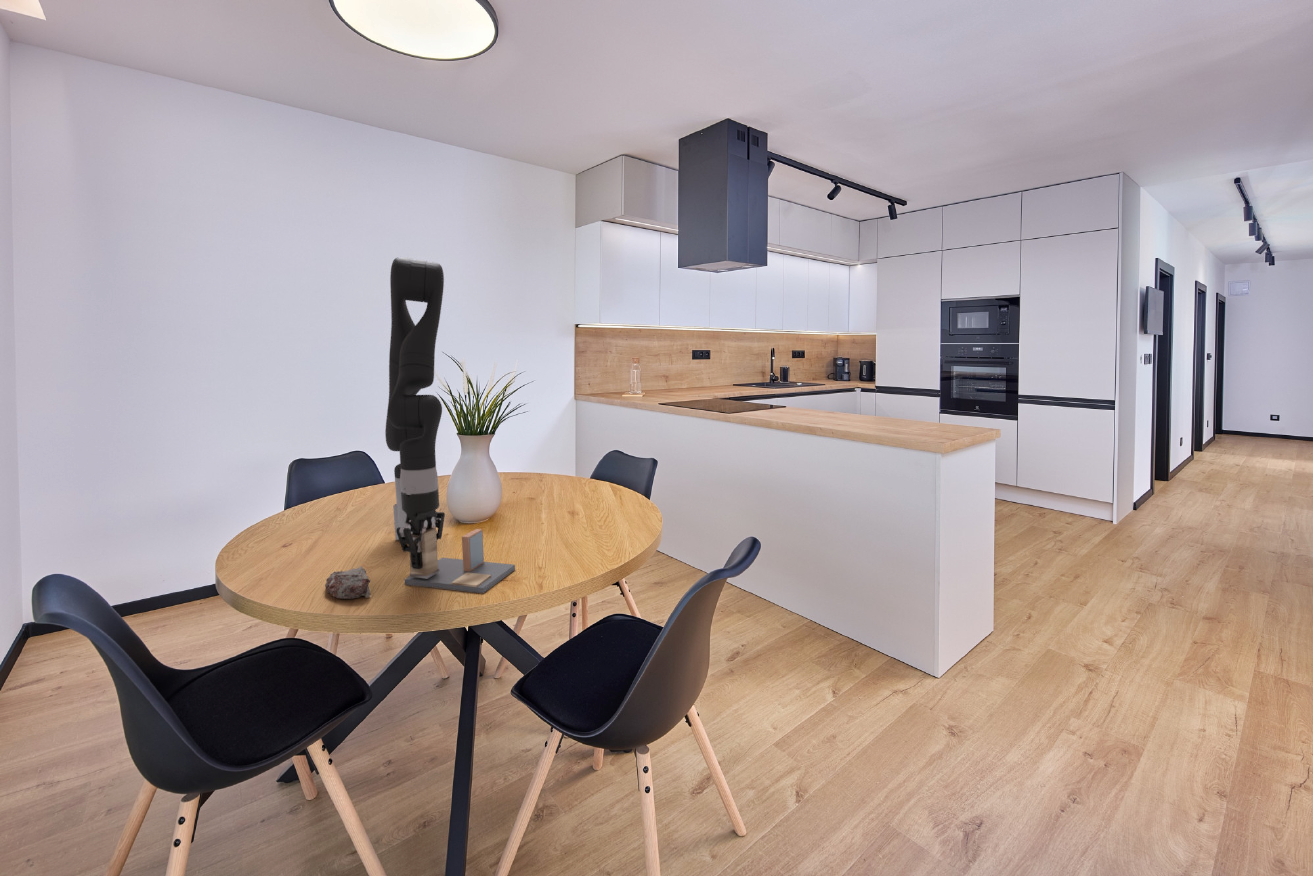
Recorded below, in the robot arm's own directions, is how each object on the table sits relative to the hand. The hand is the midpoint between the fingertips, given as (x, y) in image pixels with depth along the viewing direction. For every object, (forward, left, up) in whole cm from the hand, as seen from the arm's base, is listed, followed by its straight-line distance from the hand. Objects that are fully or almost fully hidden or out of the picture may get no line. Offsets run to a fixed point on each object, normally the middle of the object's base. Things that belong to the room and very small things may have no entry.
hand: (424, 564), depth 131 cm
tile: (+7, +8, -3) cm, 11 cm away
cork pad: (+11, 0, -3) cm, 12 cm away
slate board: (+6, +4, -4) cm, 9 cm away
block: (0, 0, -2) cm, 2 cm away
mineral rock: (-12, -9, -4) cm, 16 cm away
